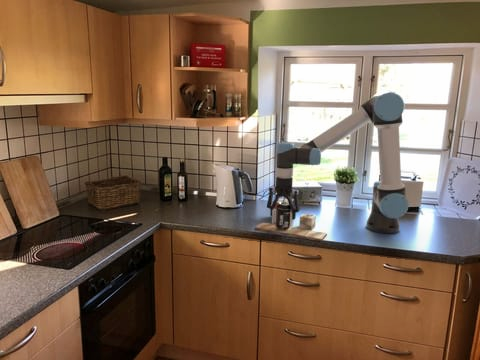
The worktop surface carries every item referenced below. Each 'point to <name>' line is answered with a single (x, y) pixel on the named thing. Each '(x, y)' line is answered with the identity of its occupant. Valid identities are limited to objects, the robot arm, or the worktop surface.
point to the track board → (292, 232)
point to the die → (307, 222)
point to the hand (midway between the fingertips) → (282, 224)
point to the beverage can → (283, 216)
